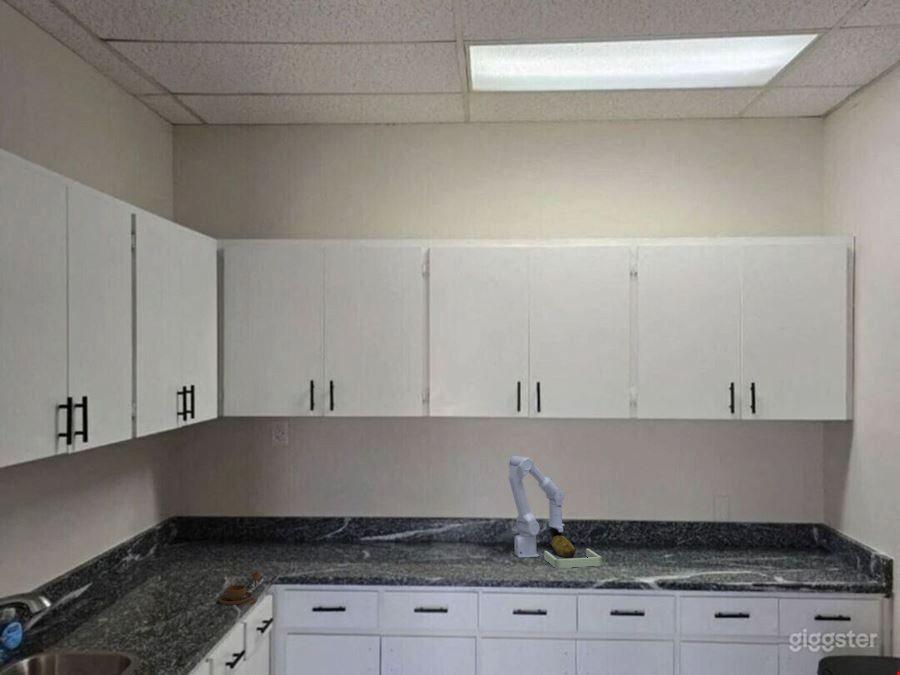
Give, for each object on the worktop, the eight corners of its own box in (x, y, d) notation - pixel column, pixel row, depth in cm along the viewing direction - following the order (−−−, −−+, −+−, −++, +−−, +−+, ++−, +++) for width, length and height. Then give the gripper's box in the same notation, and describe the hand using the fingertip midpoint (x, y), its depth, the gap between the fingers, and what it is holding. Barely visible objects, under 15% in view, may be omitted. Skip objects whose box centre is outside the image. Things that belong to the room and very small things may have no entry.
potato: (559, 559, 302) (558, 540, 302) (549, 552, 314) (548, 534, 315) (577, 558, 303) (576, 539, 304) (566, 550, 316) (566, 533, 316)
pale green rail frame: (555, 568, 287) (555, 560, 287) (544, 559, 302) (544, 551, 302) (602, 566, 291) (602, 557, 291) (588, 556, 306) (588, 548, 306)
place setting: (207, 599, 252) (207, 583, 253) (255, 587, 267) (255, 571, 268) (233, 610, 241) (233, 593, 241) (282, 596, 256) (282, 580, 256)
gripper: (569, 517, 312) (569, 548, 311) (558, 511, 326) (559, 540, 325) (554, 518, 311) (554, 549, 310) (544, 511, 325) (544, 541, 324)
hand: (556, 544), depth 318 cm, fingers closed
